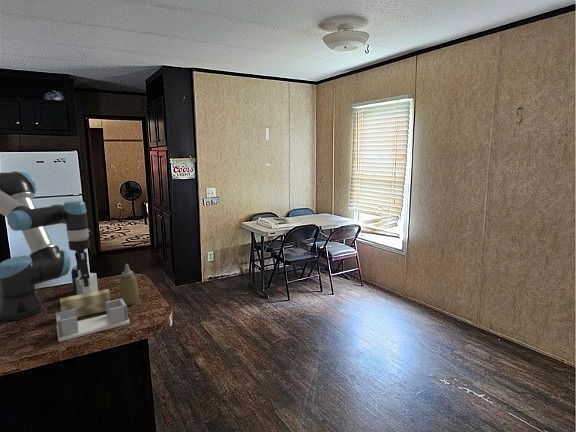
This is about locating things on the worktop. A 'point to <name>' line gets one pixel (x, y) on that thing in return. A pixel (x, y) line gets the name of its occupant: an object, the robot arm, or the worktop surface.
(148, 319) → the worktop surface
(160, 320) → the worktop surface
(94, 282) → the small box
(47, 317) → the worktop surface
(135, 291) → the squeeze bottle
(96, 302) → the rail
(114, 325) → the bracket board
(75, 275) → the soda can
